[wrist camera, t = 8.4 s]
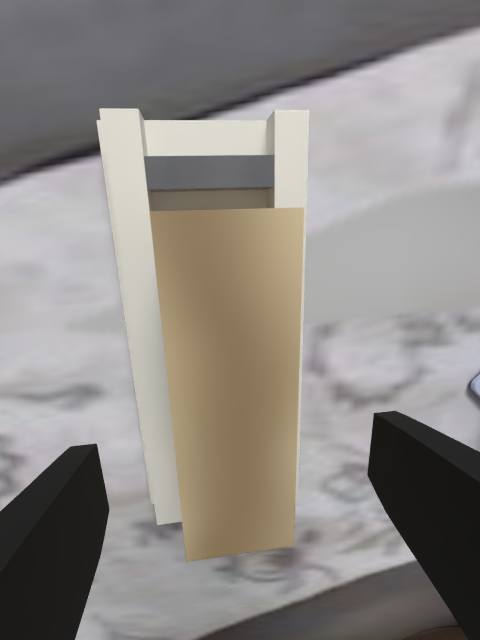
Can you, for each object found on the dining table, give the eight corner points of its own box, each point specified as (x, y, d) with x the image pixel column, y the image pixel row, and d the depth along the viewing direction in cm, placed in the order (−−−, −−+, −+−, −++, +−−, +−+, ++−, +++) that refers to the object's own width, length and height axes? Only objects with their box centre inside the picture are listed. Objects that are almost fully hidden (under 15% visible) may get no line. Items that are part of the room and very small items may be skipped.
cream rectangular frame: (291, 467, 22) (306, 504, 19) (154, 484, 21) (147, 526, 18) (298, 129, 16) (321, 110, 13) (105, 129, 15) (85, 108, 12)
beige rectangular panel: (256, 212, 15) (304, 207, 9) (258, 431, 19) (294, 545, 12) (166, 214, 15) (144, 211, 8) (186, 438, 18) (182, 562, 12)
